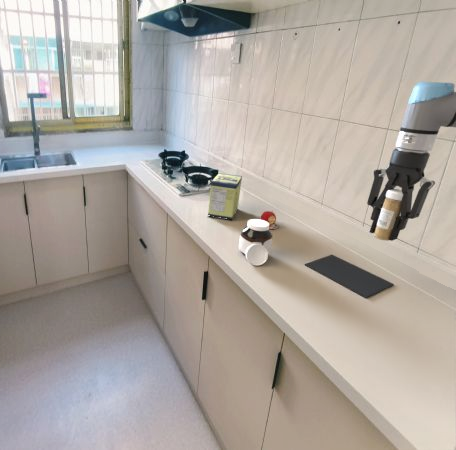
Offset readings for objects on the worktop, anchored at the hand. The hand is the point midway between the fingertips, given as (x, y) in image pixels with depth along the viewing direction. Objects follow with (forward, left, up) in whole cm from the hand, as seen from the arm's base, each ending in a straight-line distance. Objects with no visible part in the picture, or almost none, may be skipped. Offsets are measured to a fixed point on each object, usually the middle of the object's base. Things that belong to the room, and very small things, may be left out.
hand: (382, 235), depth 92 cm
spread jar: (+27, +18, -16) cm, 36 cm away
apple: (+44, -6, -16) cm, 47 cm away
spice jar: (0, 0, -1) cm, 1 cm away
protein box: (+63, +1, -16) cm, 65 cm away
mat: (+6, 0, -16) cm, 17 cm away
